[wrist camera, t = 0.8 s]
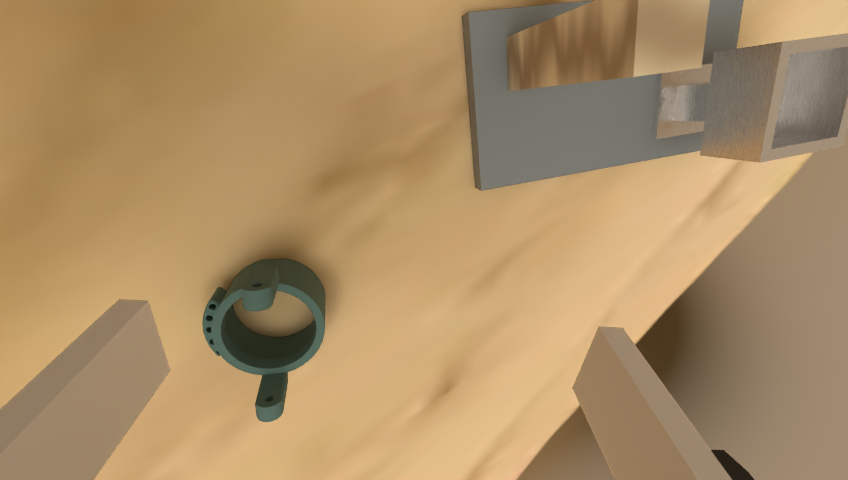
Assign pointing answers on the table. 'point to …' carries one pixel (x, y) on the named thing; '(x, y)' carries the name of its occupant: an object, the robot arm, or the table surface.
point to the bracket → (258, 350)
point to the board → (565, 105)
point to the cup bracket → (760, 100)
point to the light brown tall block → (608, 43)
